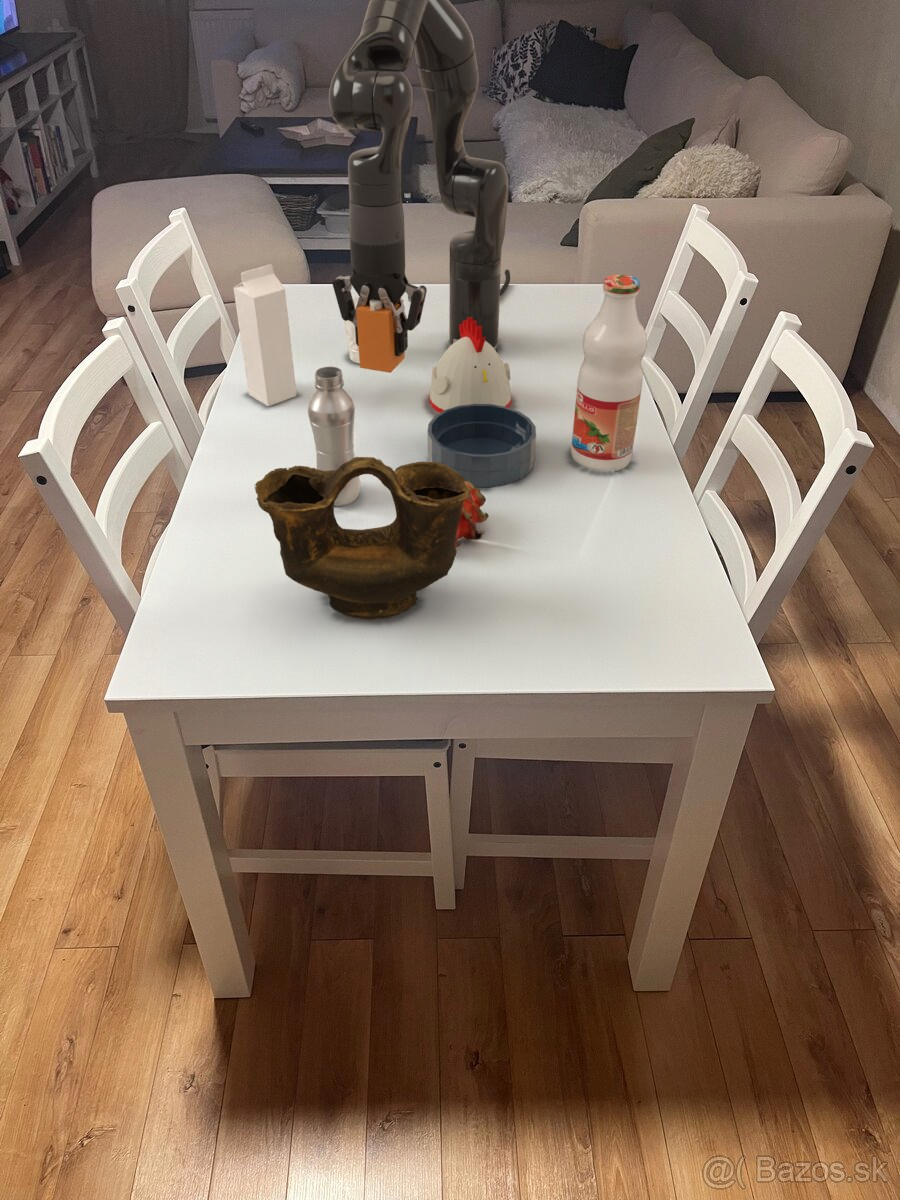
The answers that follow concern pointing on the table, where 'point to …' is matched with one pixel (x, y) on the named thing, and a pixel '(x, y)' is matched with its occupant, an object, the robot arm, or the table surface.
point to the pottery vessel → (366, 533)
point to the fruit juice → (610, 380)
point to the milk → (265, 336)
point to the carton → (377, 337)
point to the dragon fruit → (471, 515)
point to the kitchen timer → (470, 373)
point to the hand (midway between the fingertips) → (381, 350)
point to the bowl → (483, 443)
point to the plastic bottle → (333, 427)
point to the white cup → (352, 337)
